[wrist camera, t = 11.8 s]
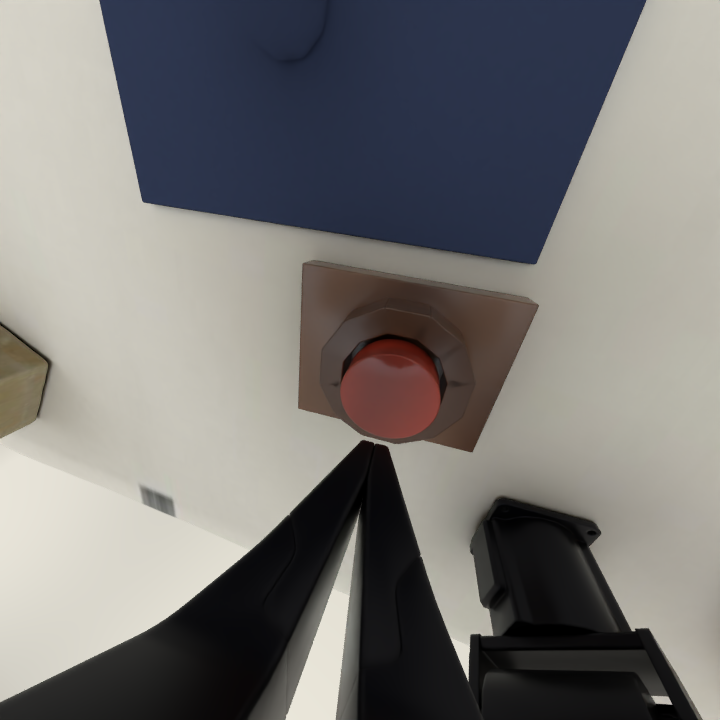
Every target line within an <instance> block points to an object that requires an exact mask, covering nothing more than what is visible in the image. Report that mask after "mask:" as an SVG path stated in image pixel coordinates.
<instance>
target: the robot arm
mask: <svg viewBox="0 0 720 720" xmlns="http://www.w3.org/2000/svg"><path fill="white" fill-rule="evenodd" d="M360 507H361V508H360ZM359 511H360V513H359ZM358 515H359V519H358V527H357V536H356V545H355V554H354V563H353V571H352V580H351V589H350V598H349V607H348V616H347V624H346V634H345V642H344V652H343V660H342V669H341V678H340V687H339V695H338V704H337V713H336V720H703V719H702V718H701V716H700V714H699V712H698V711H697V709H696V707H695V705H694V704H693V702H692V700H691V698H690V697H689V695H688V693H687V691H686V689H685V688H684V686H683V684H682V682H681V681H680V679H679V677H678V676H677V674H676V672H675V671H674V669H673V667H672V666H671V664H670V662H669V661H668V659H667V658H666V656H665V654H664V653H663V651H662V649H661V648H660V646H659V645H658V643H657V641H656V640H655V638H654V636H653V635H652V633H651V632H650V630H649V628H640V629H635V630H636V631H631V629H630V627H629V625H628V623H627V621H626V619H625V617H624V615H623V613H622V611H621V609H620V607H619V605H618V603H617V601H616V599H615V597H614V595H613V593H612V591H611V590H610V588H609V586H608V584H607V582H606V580H605V578H604V576H603V574H602V572H601V570H600V568H599V566H598V564H597V562H596V560H595V558H594V556H593V554H592V552H591V550H590V548H589V546H590V545H591V544H592V543H593V542H594V541H595V540H596V539H597V538H598V537H599V536H600V534H601V531H600V529H599V528H598V526H597V525H596V524H595V523H593V522H589V521H585V520H582V519H578V518H574V517H571V516H567V515H563V514H559V513H556V512H552V511H548V510H545V509H541V508H537V507H534V506H530V505H526V504H523V503H519V502H515V501H512V500H508V499H503V498H502V499H498V500H496V501H495V503H494V505H493V506H492V508H491V510H490V512H489V513H488V515H487V517H486V518H485V520H484V521H482V523H481V524H480V526H479V528H478V529H477V531H476V533H475V535H474V536H473V538H472V543H471V544H470V552H471V554H472V555H474V562H475V568H476V575H477V582H478V589H479V596H480V602H481V603H482V605H483V607H485V608H488V609H489V611H490V617H491V623H492V629H493V635H494V636H481V634H471V636H470V654H469V682H468V680H467V678H466V675H465V673H464V671H463V668H462V665H461V663H460V661H459V658H458V656H457V653H456V651H455V648H454V646H453V644H452V641H451V639H450V636H449V634H448V631H447V629H446V626H445V623H444V621H443V618H442V616H441V613H440V610H439V608H438V605H437V603H436V600H435V597H434V594H433V591H432V588H431V585H430V582H429V579H428V576H427V573H426V570H425V566H424V563H423V560H422V557H420V550H419V547H418V544H417V541H416V537H415V534H414V531H413V527H412V524H411V521H410V518H409V514H408V511H407V508H406V504H405V501H404V498H403V495H402V491H401V488H400V485H399V481H398V478H397V475H396V471H395V468H394V465H393V462H392V458H391V455H390V452H389V449H388V447H387V446H385V445H381V444H375V446H374V443H373V442H369V441H366V440H362V441H361V442H360V443H359V444H358V445H357V446H356V447H355V448H354V449H353V450H352V451H351V452H350V453H349V454H348V455H347V456H346V457H345V458H344V459H343V460H342V461H341V462H340V463H339V464H338V465H337V466H336V467H335V468H334V469H333V470H332V471H331V472H330V473H329V474H328V475H327V476H326V477H325V478H324V479H323V480H322V481H321V482H320V483H319V484H318V485H317V486H316V487H315V488H314V489H313V490H312V491H311V492H310V493H309V494H308V495H307V496H306V497H305V498H304V499H303V500H302V501H301V502H300V503H299V504H298V505H297V506H296V508H295V509H294V510H293V511H292V512H291V513H290V516H289V515H288V516H286V517H285V518H284V519H283V520H282V522H281V523H280V524H279V525H278V526H277V527H275V528H274V529H273V530H272V531H271V532H270V533H269V534H268V535H267V536H266V537H265V538H264V539H263V540H262V541H261V542H260V543H259V544H257V545H256V546H255V547H254V548H253V549H252V550H250V551H249V552H248V553H247V554H246V555H245V556H243V557H242V558H241V559H240V560H239V561H237V562H236V563H235V564H234V565H233V566H231V567H230V568H229V569H228V570H226V571H225V572H224V573H223V574H222V575H220V576H219V577H218V578H217V579H216V580H214V581H213V582H212V583H211V584H209V585H208V586H207V587H206V588H205V589H203V590H202V591H201V592H200V593H198V594H197V595H196V596H195V597H194V598H192V599H191V600H190V601H189V602H187V603H186V604H185V605H184V606H182V607H181V608H180V609H179V610H177V611H176V612H175V613H173V614H172V615H171V616H169V617H168V618H166V619H165V620H163V621H162V622H160V623H159V624H157V625H156V626H154V627H152V628H150V629H149V630H147V631H145V632H143V633H141V634H139V635H138V636H135V637H133V638H132V639H129V640H127V641H125V642H123V643H121V644H119V645H117V646H115V647H113V648H111V649H109V650H107V651H105V652H103V653H101V654H99V655H97V656H94V657H92V658H90V659H88V660H86V661H85V662H82V663H80V664H78V665H76V666H74V667H72V668H70V669H68V670H66V671H64V672H62V673H60V674H58V675H56V676H53V677H51V678H49V679H47V680H45V681H43V682H41V683H39V684H37V685H35V686H33V687H31V688H29V689H27V690H25V691H23V692H21V693H19V694H17V695H15V696H13V697H11V698H8V699H6V700H4V701H2V702H0V720H285V719H286V714H287V713H288V711H289V708H290V705H291V702H292V699H293V697H294V694H295V691H296V688H297V685H298V683H299V680H300V677H301V674H302V671H303V669H304V666H305V663H306V660H307V658H308V655H309V652H310V649H311V646H312V644H313V640H314V638H315V635H316V632H317V629H318V627H319V624H320V621H321V618H322V616H323V613H324V610H325V607H326V605H327V602H328V599H329V596H330V593H331V590H332V588H333V585H334V582H335V580H336V577H337V574H338V571H339V568H340V566H341V563H342V560H343V557H344V554H345V552H346V549H347V546H348V543H349V541H350V538H351V535H352V532H353V529H354V527H355V524H356V521H357V518H358ZM651 696H669V698H670V700H671V702H672V704H673V705H667V704H655V702H654V700H653V698H652V697H651Z"/></svg>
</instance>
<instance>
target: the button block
mask: <svg viewBox="0 0 720 720" xmlns="http://www.w3.org/2000/svg"><path fill="white" fill-rule="evenodd" d="M538 307H539V305H538V304H536V303H535V302H533V301H532V300H530V299H529V298H526V297H520V296H515V295H509V294H503V293H498V292H492V291H486V290H480V289H475V288H469V287H463V286H458V285H452V284H446V283H440V282H435V281H429V280H423V279H418V278H412V277H406V276H400V275H395V274H389V273H383V272H378V271H372V270H366V269H360V268H355V267H349V266H343V265H338V264H332V263H326V262H321V261H315V260H313V261H309V262H306V263H303V268H302V301H301V334H300V367H299V400H298V408H299V409H303V410H306V411H310V412H314V413H318V414H322V415H326V416H330V417H334V418H338V419H341V420H343V421H344V422H345V423H347V424H348V425H349V426H351V427H352V428H353V429H355V430H356V431H357V432H358V433H360V434H361V435H363V436H367V437H371V438H375V439H379V440H383V441H387V442H390V443H394V444H401V443H407V442H414V441H421V440H425V441H429V442H433V443H437V444H440V445H444V446H448V447H452V448H456V449H460V450H464V451H468V452H473V450H474V447H475V445H476V443H477V441H478V439H479V436H480V434H481V432H482V430H483V428H484V425H485V423H486V421H487V419H488V417H489V414H490V412H491V410H492V408H493V406H494V403H495V401H496V399H497V397H498V395H499V392H500V390H501V388H502V386H503V384H504V381H505V379H506V377H507V375H508V373H509V370H510V368H511V366H512V364H513V362H514V359H515V357H516V355H517V353H518V351H519V348H520V346H521V344H522V342H523V340H524V337H525V335H526V333H527V331H528V329H529V326H530V324H531V322H532V320H533V318H534V316H535V313H536V311H537V309H538ZM383 339H398V340H403V341H407V342H410V343H412V344H414V345H416V346H418V347H420V348H421V349H422V350H424V351H425V352H426V353H427V354H428V355H429V356H430V358H431V359H432V360H433V362H434V364H435V365H436V368H437V371H438V375H439V385H440V397H441V402H440V408H439V412H438V414H437V416H436V418H435V419H434V421H433V422H432V423H431V424H430V426H428V427H427V428H426V429H425V430H423V431H422V432H420V433H418V434H416V435H413V436H410V437H406V438H384V437H380V436H376V435H373V434H371V433H369V432H367V431H365V430H363V429H362V428H360V427H359V426H358V425H357V424H355V423H354V422H353V421H352V420H351V419H350V417H349V416H348V415H347V413H346V411H345V409H344V407H343V405H342V401H341V396H340V387H341V382H342V379H343V377H344V375H345V373H346V371H347V369H348V368H349V366H350V364H351V362H352V360H353V359H354V357H355V355H356V354H357V353H358V352H359V351H360V350H361V349H362V348H364V347H365V346H366V345H368V344H370V343H372V342H375V341H378V340H383Z"/></svg>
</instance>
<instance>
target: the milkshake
mask: <svg viewBox="0 0 720 720" xmlns="http://www.w3.org/2000/svg"><path fill="white" fill-rule="evenodd" d="M209 1H210V2H211V3H212V4H214V5H215V6H216V7H217V8H218V9H219V10H220V11H221V12H223V13H224V14H225V15H226V16H227V17H228V18H229V19H230V20H231V21H233V22H234V23H235V24H236V25H237V26H238V27H239V28H240V29H241V30H243V31H244V32H245V33H246V34H247V35H248V36H249V37H250V38H252V39H253V40H254V41H255V42H256V43H257V44H259V45H260V46H261V47H262V48H263V49H265V50H266V51H267V52H268V53H269V54H271V55H272V56H273V57H274V58H275V59H276V60H278V61H279V62H285V61H291V60H297V59H304V58H305V57H306V55H307V54H308V53H309V51H310V50H311V49H312V47H313V46H314V44H315V43H316V42H317V40H318V39H319V38H320V36H321V35H322V34H323V30H324V23H325V17H326V10H327V4H328V0H209Z"/></svg>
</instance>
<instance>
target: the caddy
mask: <svg viewBox="0 0 720 720" xmlns="http://www.w3.org/2000/svg"><path fill="white" fill-rule="evenodd" d="M47 369H48V364H47V362H46V361H45V360H44V359H43V358H42V357H41V356H39V355H38V354H37V353H35V352H34V351H33V350H31V349H30V348H29V347H28V346H26V345H25V344H24V343H22V342H21V341H20V340H19V339H17V338H16V337H15V336H14V335H13V334H11V333H10V332H9V331H7V330H6V329H5V328H3V327H2V326H0V438H2V437H4V436H6V435H8V434H10V433H12V432H14V431H17V430H19V429H21V428H23V427H25V426H26V425H28V424H30V423H32V422H33V421H35V420H36V416H37V413H38V409H39V406H40V401H41V396H42V390H43V387H44V383H45V378H46V373H47Z"/></svg>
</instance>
